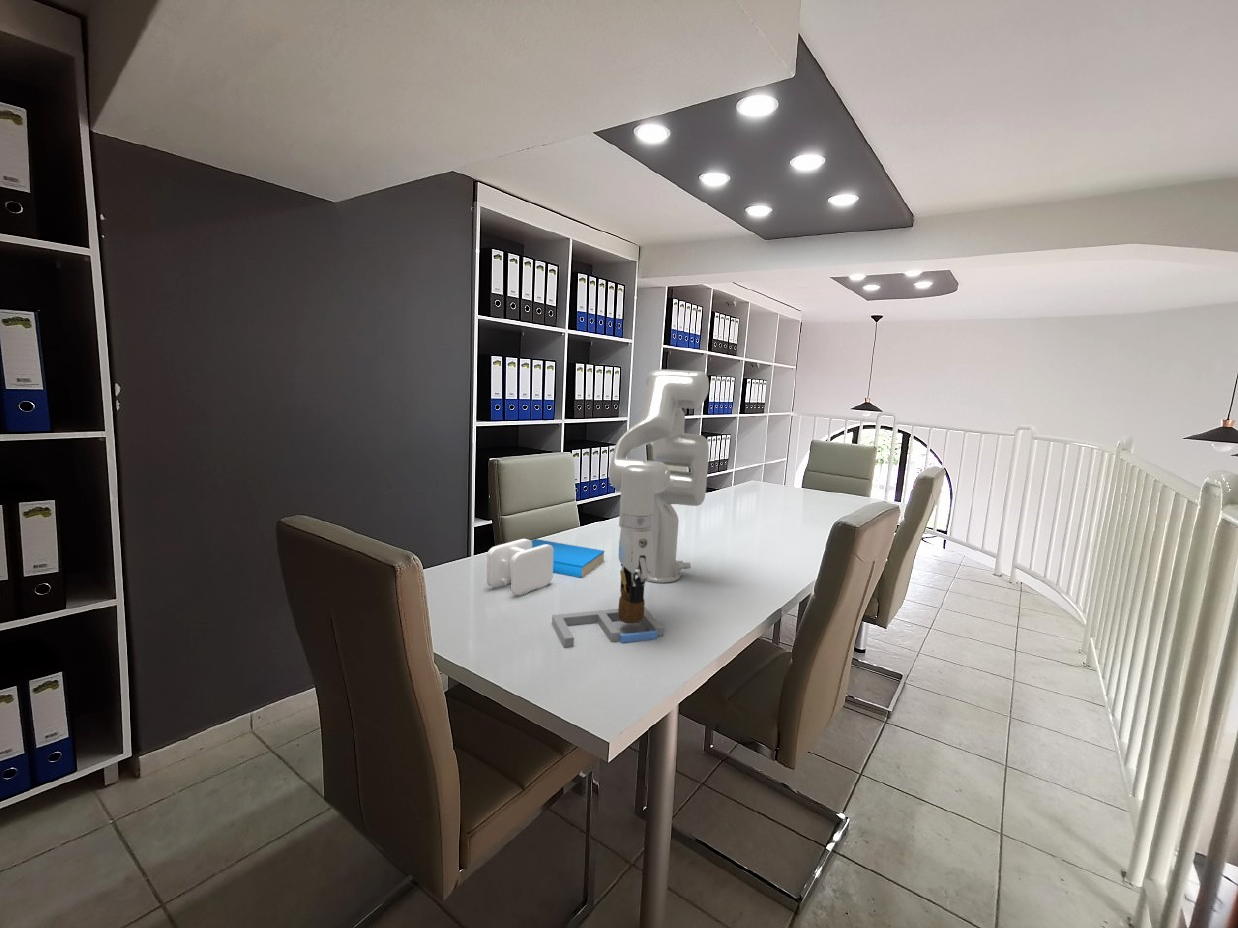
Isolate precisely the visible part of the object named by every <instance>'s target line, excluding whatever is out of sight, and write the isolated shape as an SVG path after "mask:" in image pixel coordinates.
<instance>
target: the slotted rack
mask: <svg viewBox="0 0 1238 928" xmlns="http://www.w3.org/2000/svg"><path fill="white" fill-rule="evenodd" d="M618 609H619V608H611V609H601V610H591V611H583V612H581V611H579V612H570V613H560V614H553V615H552V617H551V624H552V626H553V627H554V630H555V631H556V634H557V636H558V638H559V640H560V642H561V643H562V646H563V647H564V648H570V647H571V648H572V647H575V646H574V645H575V644H574V643H575V637H574V635H573V634H572V632H571V629H570V628H569V626H574V625H575V626H576V625H584V624H585V625H586V624H594V623H596V622H597V624H598V625H599V626H600V628H601V630H602V631H603V632H604V633H605V635H606V637H607V638H608V639H609V641H610V642H620V644H624V643H630V642H631V643H632V642H641V641H647V640H648V641H650V640H657V639H658V637H664V631H665V630H664V626H663V625H662V624H661V623H660V622H659V620H657V618H656V617H655V616H654V615H653V614H652V613H651V612H650V611H649V610H648V609H647V608H646V607H645V606H644V617H643V620H642V621H641V623H643V625H644V626H645V625H646V626H647V627H646V626H645V627H646V628H647V629H648V630H647V631H639V632H630V633H622V634H621V631H620V630H619V629H618V628H617V626H616V625H615V624H614V622H615V621H621V620H620V619H619V617H618Z"/></svg>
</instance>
